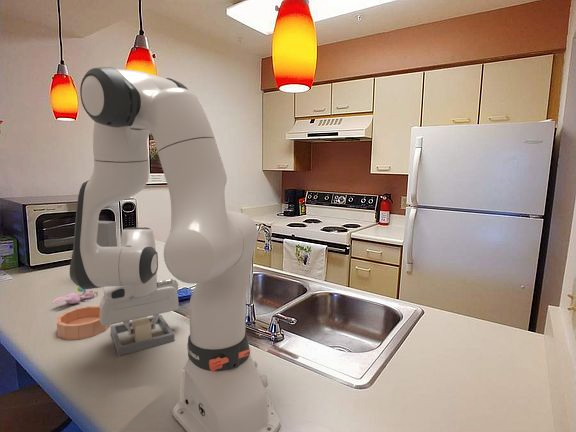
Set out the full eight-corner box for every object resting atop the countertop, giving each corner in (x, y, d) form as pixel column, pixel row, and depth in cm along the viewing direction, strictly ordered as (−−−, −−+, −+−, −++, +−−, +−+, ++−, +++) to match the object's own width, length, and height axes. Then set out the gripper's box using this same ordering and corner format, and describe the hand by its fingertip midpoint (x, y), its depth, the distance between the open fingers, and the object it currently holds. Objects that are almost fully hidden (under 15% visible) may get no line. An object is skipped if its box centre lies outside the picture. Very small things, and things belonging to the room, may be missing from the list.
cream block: (151, 338, 93) (151, 323, 92) (136, 342, 90) (135, 327, 90) (147, 331, 97) (147, 316, 96) (132, 334, 94) (132, 320, 94)
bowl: (112, 331, 96) (111, 318, 95) (58, 344, 88) (56, 330, 88) (106, 314, 106) (106, 302, 106) (57, 324, 99) (56, 312, 98)
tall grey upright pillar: (120, 280, 138) (117, 221, 134) (111, 285, 131) (107, 223, 128) (89, 278, 139) (85, 219, 135) (78, 283, 133) (74, 222, 129)
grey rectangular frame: (174, 340, 92) (174, 333, 92) (118, 356, 84) (118, 348, 84) (161, 320, 103) (161, 314, 103) (110, 332, 95) (110, 326, 95)
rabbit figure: (88, 297, 123) (46, 306, 109) (89, 281, 123) (48, 288, 109) (100, 300, 120) (60, 310, 106) (102, 284, 121) (61, 291, 106)
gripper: (174, 274, 100) (175, 318, 102) (96, 287, 88) (99, 336, 90) (181, 281, 95) (182, 326, 97) (99, 295, 83) (102, 346, 85)
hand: (141, 331), depth 93 cm, fingers closed on cream block, 4 cm apart
